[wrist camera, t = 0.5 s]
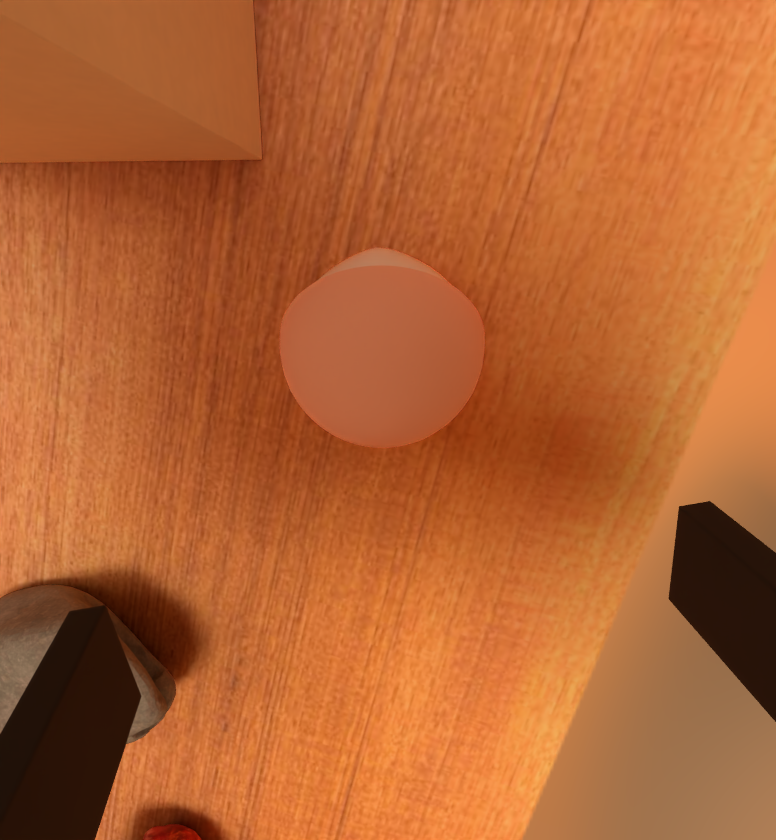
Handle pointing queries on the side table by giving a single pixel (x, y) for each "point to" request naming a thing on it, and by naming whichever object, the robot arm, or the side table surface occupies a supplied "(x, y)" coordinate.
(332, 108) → the side table surface
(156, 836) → the pomegranate
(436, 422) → the toy ball
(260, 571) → the side table surface
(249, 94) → the stand
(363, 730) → the side table surface
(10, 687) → the stone
